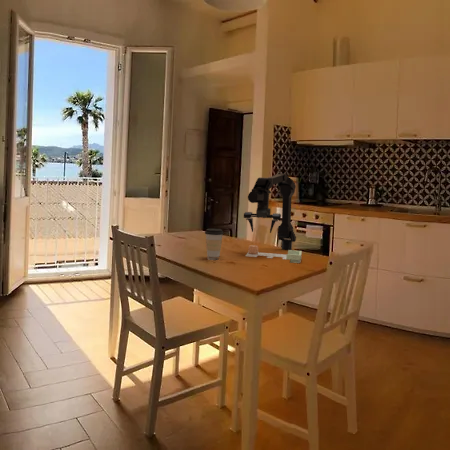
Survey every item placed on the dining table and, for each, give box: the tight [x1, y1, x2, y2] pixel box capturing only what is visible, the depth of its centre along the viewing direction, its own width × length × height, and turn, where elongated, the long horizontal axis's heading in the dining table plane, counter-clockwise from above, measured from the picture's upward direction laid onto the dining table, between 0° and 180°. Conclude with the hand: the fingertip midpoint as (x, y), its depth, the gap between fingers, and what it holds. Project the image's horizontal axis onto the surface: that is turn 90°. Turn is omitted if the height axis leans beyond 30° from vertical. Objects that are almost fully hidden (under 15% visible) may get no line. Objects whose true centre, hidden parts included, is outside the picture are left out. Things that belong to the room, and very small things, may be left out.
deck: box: [245, 249, 303, 264], centre depth 240 cm, size 13×28×4 cm, turn 79°
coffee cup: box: [204, 228, 225, 261], centre depth 232 cm, size 9×9×15 cm
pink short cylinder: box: [248, 244, 259, 254], centre depth 244 cm, size 5×5×4 cm
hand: (261, 232), depth 239 cm, fingers open, 9 cm apart
